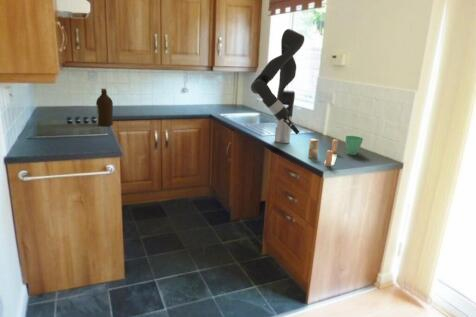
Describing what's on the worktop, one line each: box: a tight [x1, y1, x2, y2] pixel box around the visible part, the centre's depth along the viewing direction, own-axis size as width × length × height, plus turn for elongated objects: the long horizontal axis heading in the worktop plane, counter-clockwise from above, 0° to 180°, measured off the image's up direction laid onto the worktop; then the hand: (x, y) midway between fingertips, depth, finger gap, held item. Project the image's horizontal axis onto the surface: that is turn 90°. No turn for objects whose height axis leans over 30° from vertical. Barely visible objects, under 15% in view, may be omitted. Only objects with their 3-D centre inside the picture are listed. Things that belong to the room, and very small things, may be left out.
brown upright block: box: [307, 138, 320, 159], centre depth 203 cm, size 5×5×10 cm
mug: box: [345, 135, 364, 156], centre depth 217 cm, size 15×10×10 cm
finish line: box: [323, 139, 339, 168], centre depth 201 cm, size 5×31×8 cm, turn 160°
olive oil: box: [95, 88, 114, 127], centre depth 249 cm, size 11×11×25 cm
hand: (296, 131), depth 200 cm, fingers open, 8 cm apart
